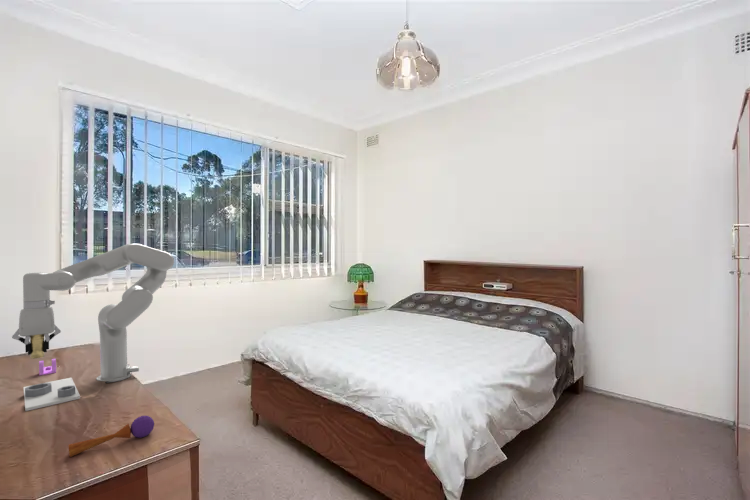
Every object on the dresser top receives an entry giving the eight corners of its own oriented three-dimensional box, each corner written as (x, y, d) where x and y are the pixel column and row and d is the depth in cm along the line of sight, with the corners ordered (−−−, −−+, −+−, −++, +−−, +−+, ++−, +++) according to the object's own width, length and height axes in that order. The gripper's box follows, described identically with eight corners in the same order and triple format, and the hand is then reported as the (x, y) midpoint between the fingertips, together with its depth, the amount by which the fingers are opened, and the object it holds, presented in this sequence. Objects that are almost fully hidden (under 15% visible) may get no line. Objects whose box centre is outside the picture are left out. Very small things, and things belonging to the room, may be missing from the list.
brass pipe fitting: (46, 355, 147) (46, 332, 147) (41, 357, 143) (41, 334, 143) (33, 356, 145) (33, 333, 145) (28, 359, 142) (28, 335, 141)
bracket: (56, 375, 168) (55, 359, 168) (39, 378, 164) (38, 362, 164) (56, 368, 178) (55, 353, 178) (40, 370, 174) (40, 355, 174)
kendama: (68, 437, 104) (151, 411, 117) (70, 459, 104) (153, 430, 116) (67, 441, 100) (153, 414, 112) (70, 465, 99) (156, 434, 112)
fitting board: (71, 379, 161) (71, 371, 161) (80, 398, 141) (79, 389, 141) (23, 389, 150) (23, 380, 150) (25, 411, 130) (25, 401, 130)
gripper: (64, 301, 152) (65, 347, 153) (6, 306, 141) (7, 355, 141) (65, 303, 147) (66, 350, 147) (5, 308, 136) (6, 359, 136)
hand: (37, 352), depth 144 cm, fingers closed on brass pipe fitting, 4 cm apart
